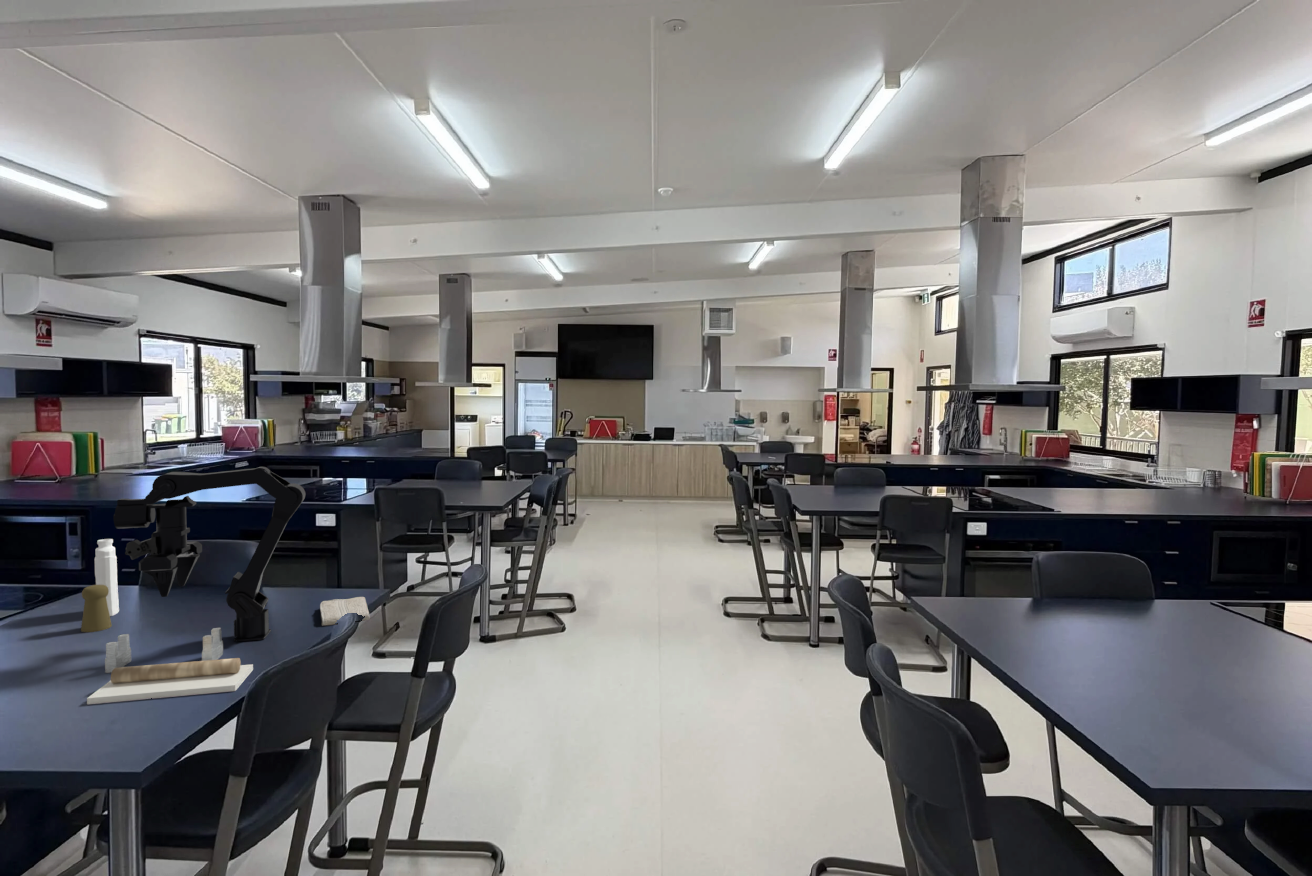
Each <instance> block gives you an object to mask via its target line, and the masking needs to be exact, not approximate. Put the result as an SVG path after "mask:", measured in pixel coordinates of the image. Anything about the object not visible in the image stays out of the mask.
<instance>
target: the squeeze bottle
mask: <svg viewBox="0 0 1312 876" xmlns="http://www.w3.org/2000/svg"><path fill="white" fill-rule="evenodd" d="M113 543H114V539H113V538H104V539H103V538H102V539H98V540H97V542H96V544H97V545H98V547H96V548H95V557H94V577H95V585H106V586H107V587H108V589H109V592H108V595H107V596H106V600H107V605H108V610H109V615H110V617H113V616H115V615H117V614H118V613H119V612H120V607H119V606H120V605H119V604H120V602H119V601H120V600H119V592H118V591H119V589H118V588H119V586H118V563H117V562H118V560H117V559H118V557H117V555H116V547H115V546H113Z"/></svg>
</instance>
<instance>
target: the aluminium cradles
mask: <svg viewBox="0 0 1312 876" xmlns="http://www.w3.org/2000/svg"><path fill="white" fill-rule="evenodd" d="M210 633H211V634H207V635H204V636H203V637H202V651H201V661H206V660H219V659H220V658H221V657H222V656H223V655H224V640H222V639H223V638H222V627H213V628H212V629H211V630H210ZM131 662H132V648H131V647H130V633H126V634H124V633H123V634H120V635H118V636H117V641H109V642H107V643H105V658H104V669H105V670H104V673H105V674H111V673H112V671H113V669H114V668H119V667H126V666H127V665H128V664H129V663H131Z"/></svg>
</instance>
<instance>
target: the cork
mask: <svg viewBox="0 0 1312 876" xmlns="http://www.w3.org/2000/svg"><path fill="white" fill-rule="evenodd" d="M108 592H109V589H108V587H107V586H106V585H96V584H92V585H87V586H86V587H84V588H83V590H82V591H81V597H82V599H83V600H84V605H83V610H82V611H83V613H82V619H81V625H80V632H81V633H94V632H95V633H97V632H101V631H104V630H108V629H110V628H111V627H112V620H111V616H110V615H109V610H108V605H107V600H106V596H107V595H108Z"/></svg>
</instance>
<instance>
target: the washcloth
mask: <svg viewBox="0 0 1312 876" xmlns="http://www.w3.org/2000/svg"><path fill="white" fill-rule="evenodd" d="M319 610H320V619H321V626H322V627H323V626H325V627H327V626H334V625H336V624H335V623H336V622H337V620H339V619H340V618H341V617H342V616H344V615H345V614H347V613H357V614H358V615H362V616H363V617H364V616H365V618H364V619H363V620H362V621H361V622H364V621H368V620H370V619H371V616H370V612H369V609H368V604H367V600H366V597H364V596H356V597H352V598H346V599H344V598H342V599H341V598H339V599H338V598H335V599H334V598H333V599H329V600H323V601H321V602H320V604H319Z"/></svg>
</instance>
